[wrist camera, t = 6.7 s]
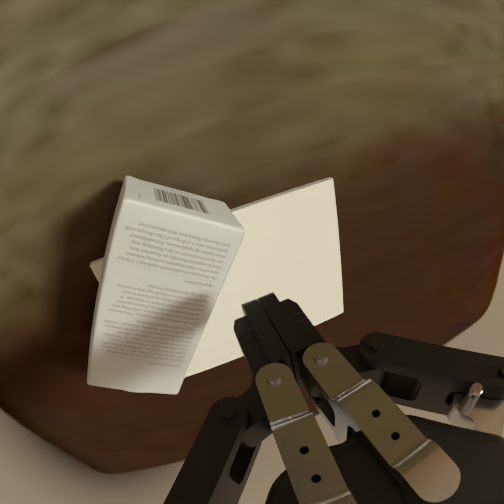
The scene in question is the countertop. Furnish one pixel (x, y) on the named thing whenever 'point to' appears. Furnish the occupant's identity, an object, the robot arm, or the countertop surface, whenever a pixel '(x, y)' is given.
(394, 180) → the countertop surface
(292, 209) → the mat
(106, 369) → the skincare box
